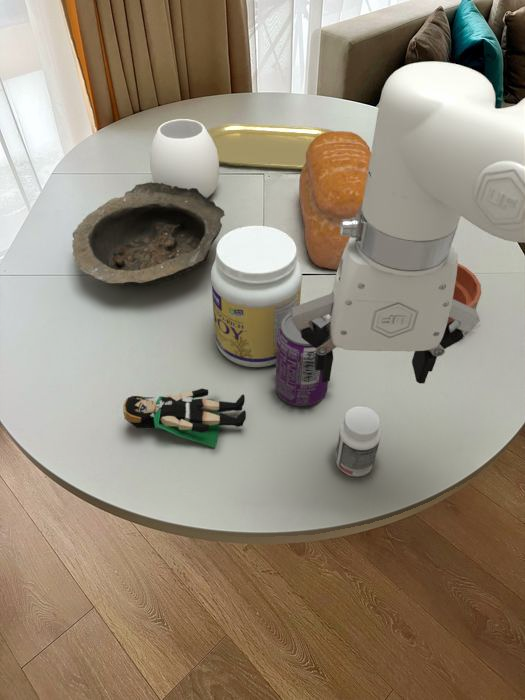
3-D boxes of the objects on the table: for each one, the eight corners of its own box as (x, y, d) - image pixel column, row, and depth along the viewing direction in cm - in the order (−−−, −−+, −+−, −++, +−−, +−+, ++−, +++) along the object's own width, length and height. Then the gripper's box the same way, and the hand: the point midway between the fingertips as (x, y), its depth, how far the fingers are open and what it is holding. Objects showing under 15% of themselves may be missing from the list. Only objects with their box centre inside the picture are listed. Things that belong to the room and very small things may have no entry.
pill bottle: (380, 470, 69) (392, 429, 63) (346, 482, 67) (354, 442, 61) (361, 440, 72) (371, 398, 66) (328, 451, 70) (334, 410, 64)
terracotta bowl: (480, 302, 90) (491, 272, 86) (456, 353, 82) (467, 324, 78) (401, 276, 95) (408, 247, 90) (372, 322, 87) (377, 293, 83)
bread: (306, 273, 95) (312, 192, 84) (295, 192, 114) (299, 117, 103) (385, 271, 96) (402, 191, 85) (362, 191, 114) (372, 117, 103)
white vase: (144, 207, 109) (133, 140, 100) (168, 174, 118) (160, 110, 109) (209, 216, 107) (204, 149, 98) (228, 182, 116) (225, 117, 107)
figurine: (247, 430, 68) (120, 424, 65) (239, 456, 72) (119, 452, 69) (243, 382, 74) (126, 374, 71) (236, 409, 78) (125, 402, 75)
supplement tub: (198, 341, 84) (188, 248, 72) (256, 302, 90) (255, 210, 78) (257, 385, 78) (257, 291, 66) (314, 340, 84) (323, 247, 72)
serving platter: (205, 128, 134) (204, 121, 133) (353, 136, 131) (353, 129, 130) (189, 166, 121) (188, 159, 120) (353, 176, 118) (353, 169, 117)
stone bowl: (242, 232, 103) (240, 189, 96) (195, 330, 88) (189, 288, 81) (118, 210, 107) (107, 167, 100) (53, 300, 92) (35, 257, 85)
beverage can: (335, 383, 78) (345, 319, 70) (311, 417, 74) (318, 354, 65) (291, 362, 81) (295, 299, 72) (265, 395, 77) (266, 332, 68)
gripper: (300, 260, 43) (288, 400, 55) (526, 263, 43) (463, 402, 55) (295, 206, 48) (285, 345, 60) (497, 209, 48) (446, 347, 61)
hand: (371, 372), depth 58 cm, fingers open, 9 cm apart
